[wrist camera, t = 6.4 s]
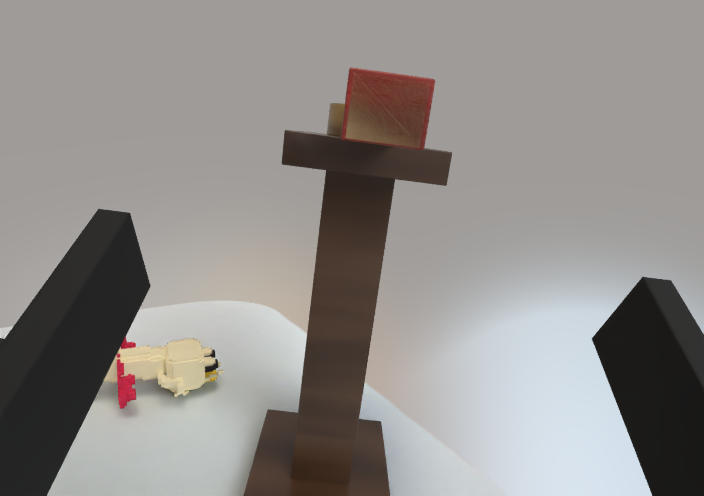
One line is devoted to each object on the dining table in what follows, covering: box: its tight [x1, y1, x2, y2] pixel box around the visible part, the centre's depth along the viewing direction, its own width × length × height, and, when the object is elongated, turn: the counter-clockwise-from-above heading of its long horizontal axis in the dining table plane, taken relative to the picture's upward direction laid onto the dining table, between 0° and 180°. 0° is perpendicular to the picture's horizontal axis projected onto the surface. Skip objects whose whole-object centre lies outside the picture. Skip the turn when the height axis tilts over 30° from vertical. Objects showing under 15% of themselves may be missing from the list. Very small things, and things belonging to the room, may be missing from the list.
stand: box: [244, 130, 452, 496], centre depth 38 cm, size 16×12×30 cm
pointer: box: [327, 68, 435, 150], centre depth 29 cm, size 25×6×3 cm, turn 1°
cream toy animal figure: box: [103, 337, 223, 409], centre depth 48 cm, size 10×9×25 cm
